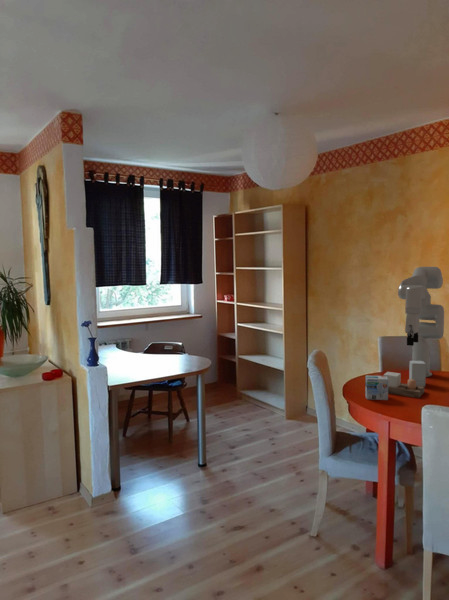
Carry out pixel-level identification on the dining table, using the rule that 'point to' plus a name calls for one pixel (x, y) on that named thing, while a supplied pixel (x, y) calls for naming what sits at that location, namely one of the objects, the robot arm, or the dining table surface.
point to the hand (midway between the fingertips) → (412, 343)
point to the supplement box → (418, 372)
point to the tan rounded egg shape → (411, 384)
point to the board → (406, 390)
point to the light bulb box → (376, 387)
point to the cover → (393, 379)
